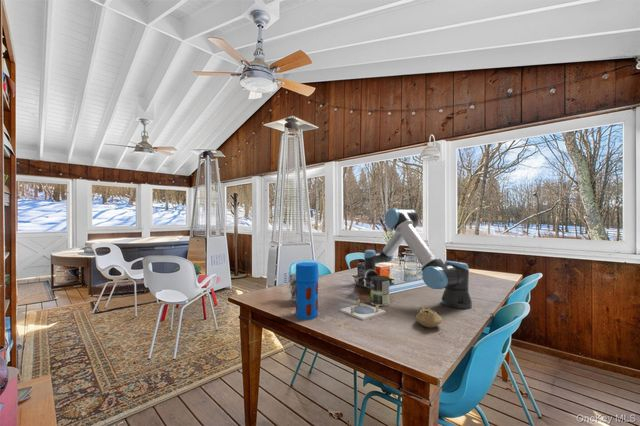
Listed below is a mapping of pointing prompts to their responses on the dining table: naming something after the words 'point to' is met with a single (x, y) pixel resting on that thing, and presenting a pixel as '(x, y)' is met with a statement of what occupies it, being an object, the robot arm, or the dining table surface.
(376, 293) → the coffee can
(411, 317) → the dining table surface
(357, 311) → the pin jig
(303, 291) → the thermos
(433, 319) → the oil lamp
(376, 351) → the dining table surface
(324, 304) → the dining table surface
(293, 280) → the robotic toy
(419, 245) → the robot arm
